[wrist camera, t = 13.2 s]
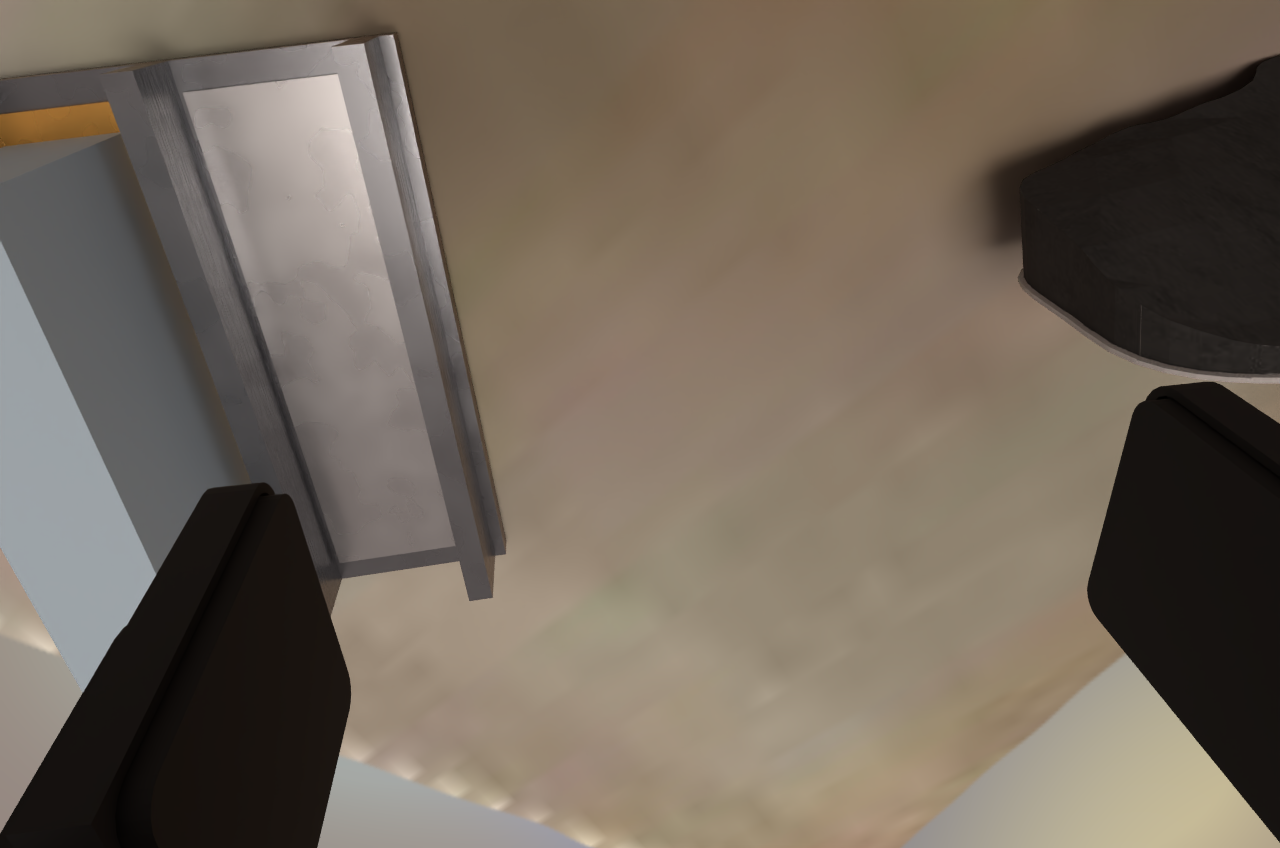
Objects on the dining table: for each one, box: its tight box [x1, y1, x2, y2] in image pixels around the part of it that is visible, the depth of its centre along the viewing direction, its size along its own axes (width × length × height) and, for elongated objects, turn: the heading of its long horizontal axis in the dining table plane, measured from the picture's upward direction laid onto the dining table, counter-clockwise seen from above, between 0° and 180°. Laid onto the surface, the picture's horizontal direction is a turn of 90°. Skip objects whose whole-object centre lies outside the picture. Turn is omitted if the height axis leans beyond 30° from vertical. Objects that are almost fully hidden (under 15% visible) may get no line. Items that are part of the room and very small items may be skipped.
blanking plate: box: [0, 132, 252, 693], centre depth 30 cm, size 18×4×9 cm, turn 6°
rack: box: [0, 33, 506, 617], centre depth 33 cm, size 22×16×4 cm
